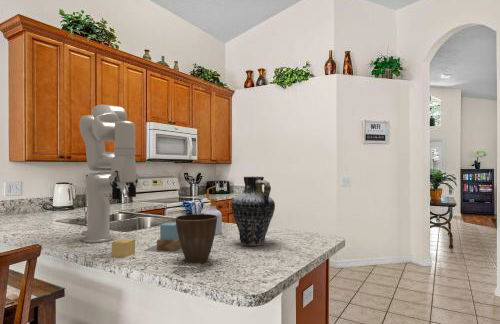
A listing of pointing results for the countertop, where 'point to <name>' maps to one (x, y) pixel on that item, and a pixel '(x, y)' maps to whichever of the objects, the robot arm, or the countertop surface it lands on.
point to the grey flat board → (162, 251)
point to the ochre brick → (123, 247)
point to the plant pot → (196, 236)
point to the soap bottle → (215, 213)
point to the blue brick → (168, 231)
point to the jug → (253, 211)
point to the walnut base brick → (168, 245)
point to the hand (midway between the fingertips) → (124, 197)
